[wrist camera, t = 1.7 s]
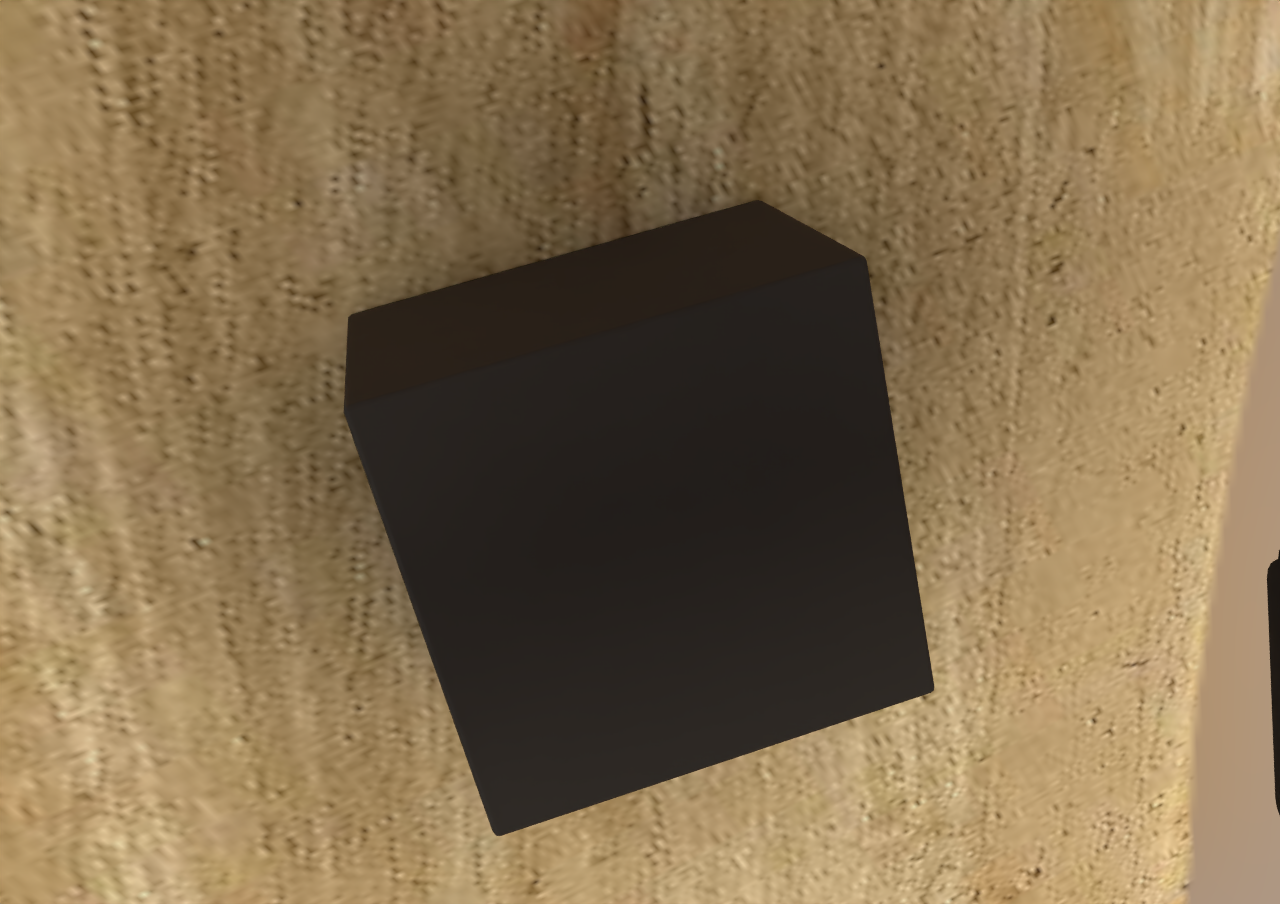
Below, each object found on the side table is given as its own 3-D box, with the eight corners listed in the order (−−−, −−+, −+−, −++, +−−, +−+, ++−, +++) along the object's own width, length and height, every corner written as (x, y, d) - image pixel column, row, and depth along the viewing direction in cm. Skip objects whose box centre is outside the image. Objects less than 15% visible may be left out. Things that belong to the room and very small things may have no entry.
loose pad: (346, 314, 17) (341, 407, 13) (760, 197, 17) (868, 255, 13) (469, 674, 19) (495, 840, 15) (830, 560, 20) (937, 692, 16)
